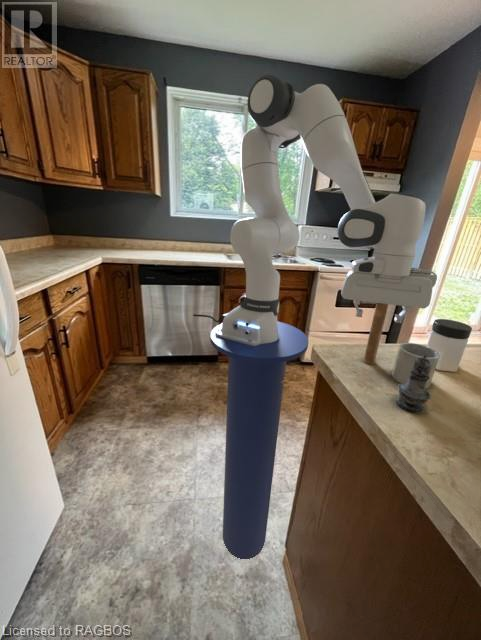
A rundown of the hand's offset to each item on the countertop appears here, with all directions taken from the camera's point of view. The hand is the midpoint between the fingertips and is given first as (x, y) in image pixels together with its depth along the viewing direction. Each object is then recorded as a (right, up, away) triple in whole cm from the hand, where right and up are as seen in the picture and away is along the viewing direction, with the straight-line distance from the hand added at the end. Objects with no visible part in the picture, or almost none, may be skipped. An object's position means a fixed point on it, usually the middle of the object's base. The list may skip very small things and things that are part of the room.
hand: (377, 319), depth 71 cm
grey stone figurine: (0, -18, -13) cm, 23 cm away
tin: (+6, -15, -4) cm, 17 cm away
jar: (+19, -13, +5) cm, 24 cm away
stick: (0, -12, +4) cm, 13 cm away
